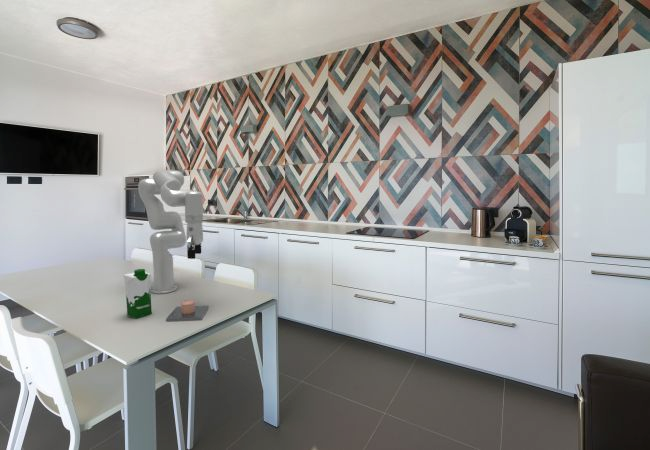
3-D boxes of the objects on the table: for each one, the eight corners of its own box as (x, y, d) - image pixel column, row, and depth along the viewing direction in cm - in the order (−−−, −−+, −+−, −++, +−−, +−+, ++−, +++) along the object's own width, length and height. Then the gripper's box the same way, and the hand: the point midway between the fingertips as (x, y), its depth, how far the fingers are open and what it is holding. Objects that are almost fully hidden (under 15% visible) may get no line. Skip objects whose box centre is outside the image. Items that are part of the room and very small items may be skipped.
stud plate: (166, 321, 138) (165, 311, 137) (176, 309, 152) (176, 300, 151) (201, 320, 139) (201, 310, 139) (208, 308, 153) (208, 299, 153)
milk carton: (134, 320, 139) (131, 273, 136) (123, 315, 144) (121, 269, 142) (154, 313, 146) (152, 268, 144) (144, 309, 151) (142, 265, 149)
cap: (196, 309, 148) (195, 300, 148) (192, 313, 143) (192, 304, 143) (184, 309, 148) (183, 300, 147) (180, 314, 143) (179, 304, 142)
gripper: (197, 221, 142) (197, 260, 145) (207, 216, 159) (207, 251, 162) (179, 221, 142) (179, 260, 144) (191, 216, 159) (191, 251, 161)
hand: (194, 256), depth 153 cm, fingers open, 9 cm apart
